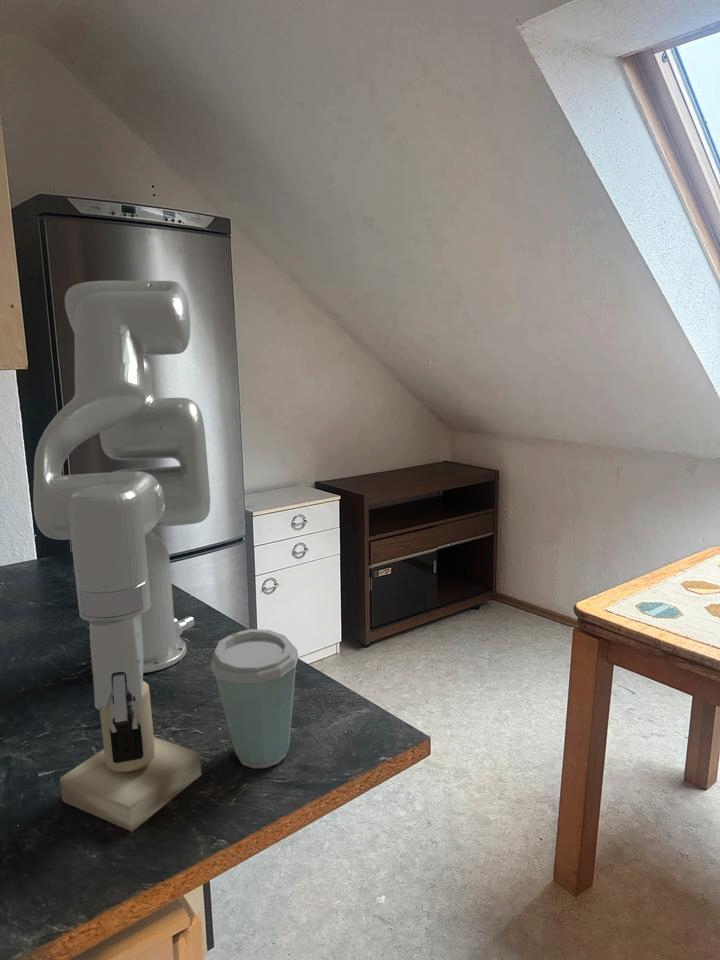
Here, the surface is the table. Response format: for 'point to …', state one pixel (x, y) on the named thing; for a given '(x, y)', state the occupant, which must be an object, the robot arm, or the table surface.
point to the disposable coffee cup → (257, 693)
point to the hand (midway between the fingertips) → (129, 742)
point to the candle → (146, 731)
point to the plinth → (131, 785)
